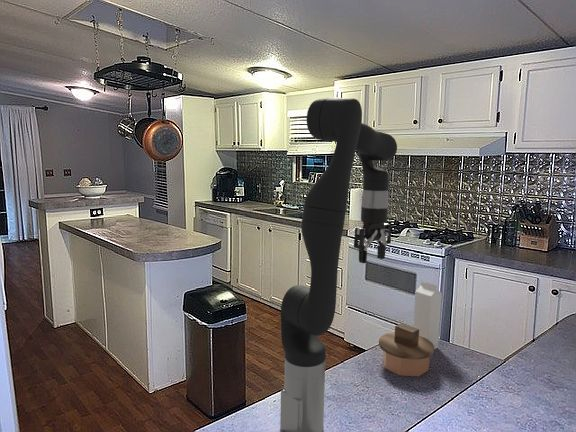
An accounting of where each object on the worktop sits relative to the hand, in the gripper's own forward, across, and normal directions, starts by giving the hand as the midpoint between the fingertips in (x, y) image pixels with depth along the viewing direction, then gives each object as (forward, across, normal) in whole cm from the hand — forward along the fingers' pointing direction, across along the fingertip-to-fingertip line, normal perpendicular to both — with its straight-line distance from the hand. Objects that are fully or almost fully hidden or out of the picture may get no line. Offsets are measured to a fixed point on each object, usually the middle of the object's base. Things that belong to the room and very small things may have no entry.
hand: (372, 260), depth 125 cm
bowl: (+32, +8, -8) cm, 34 cm away
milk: (+32, +24, -5) cm, 41 cm away
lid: (+26, +8, -8) cm, 28 cm away
